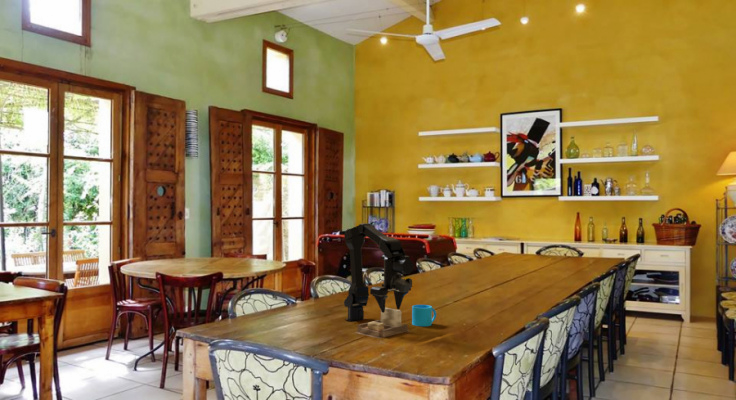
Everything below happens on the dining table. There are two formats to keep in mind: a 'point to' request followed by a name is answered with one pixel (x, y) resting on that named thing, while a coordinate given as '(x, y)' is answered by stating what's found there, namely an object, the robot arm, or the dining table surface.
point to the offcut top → (375, 325)
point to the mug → (422, 315)
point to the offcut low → (375, 330)
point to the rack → (384, 333)
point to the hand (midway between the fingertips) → (390, 310)
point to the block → (391, 317)
